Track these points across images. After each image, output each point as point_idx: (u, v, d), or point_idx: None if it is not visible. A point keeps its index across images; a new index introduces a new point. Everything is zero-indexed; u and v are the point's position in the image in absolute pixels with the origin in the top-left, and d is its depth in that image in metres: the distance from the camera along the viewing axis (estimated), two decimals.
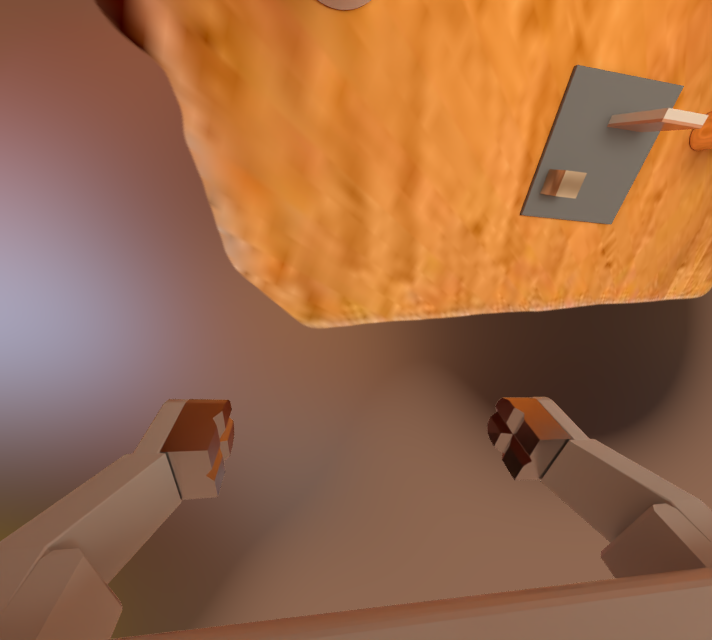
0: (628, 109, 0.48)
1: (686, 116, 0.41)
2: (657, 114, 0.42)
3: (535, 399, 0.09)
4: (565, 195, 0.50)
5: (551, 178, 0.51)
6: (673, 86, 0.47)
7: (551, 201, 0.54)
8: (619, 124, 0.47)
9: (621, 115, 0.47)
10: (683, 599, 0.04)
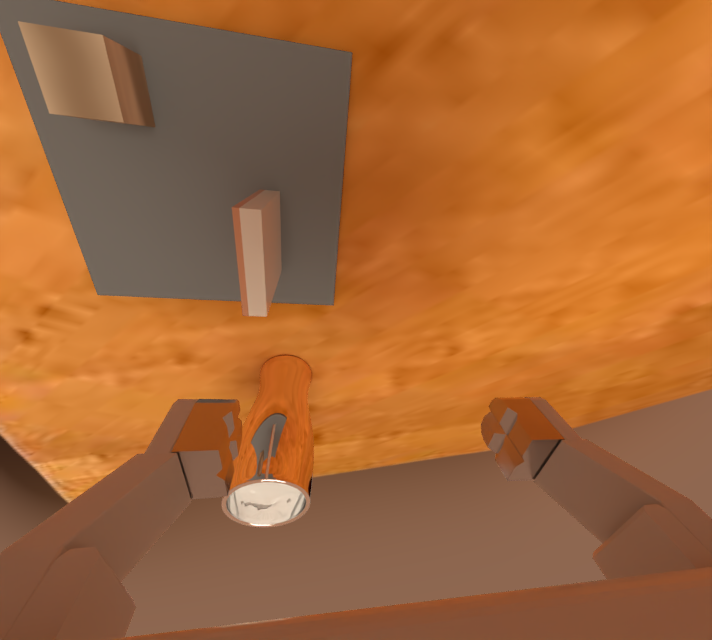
0: (293, 223, 0.26)
1: (255, 268, 0.18)
2: (252, 205, 0.17)
3: (528, 399, 0.09)
4: (38, 66, 0.16)
5: None
6: (331, 289, 0.29)
7: None
8: (256, 192, 0.22)
9: (274, 193, 0.23)
10: (682, 599, 0.04)
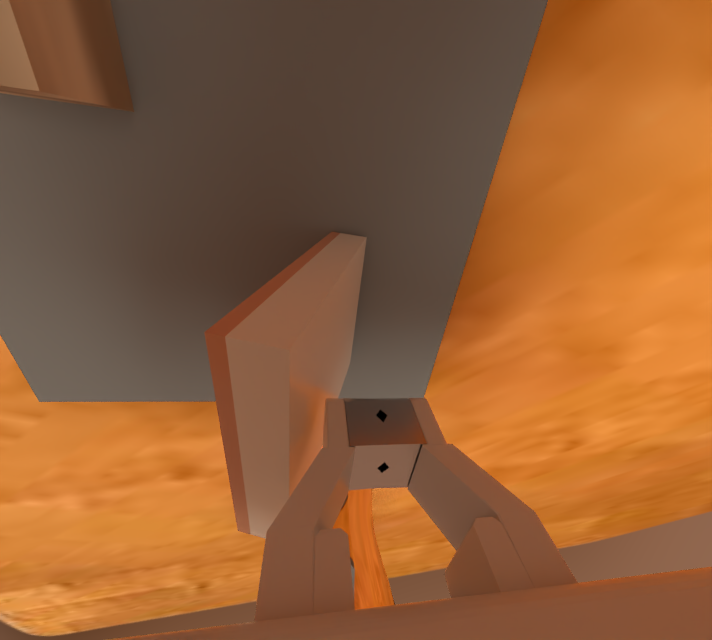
0: (381, 286, 0.15)
1: (266, 467, 0.07)
2: (278, 313, 0.06)
3: (408, 401, 0.08)
4: None
5: None
6: (424, 380, 0.18)
7: None
8: (320, 244, 0.11)
9: (354, 246, 0.11)
10: (682, 599, 0.04)
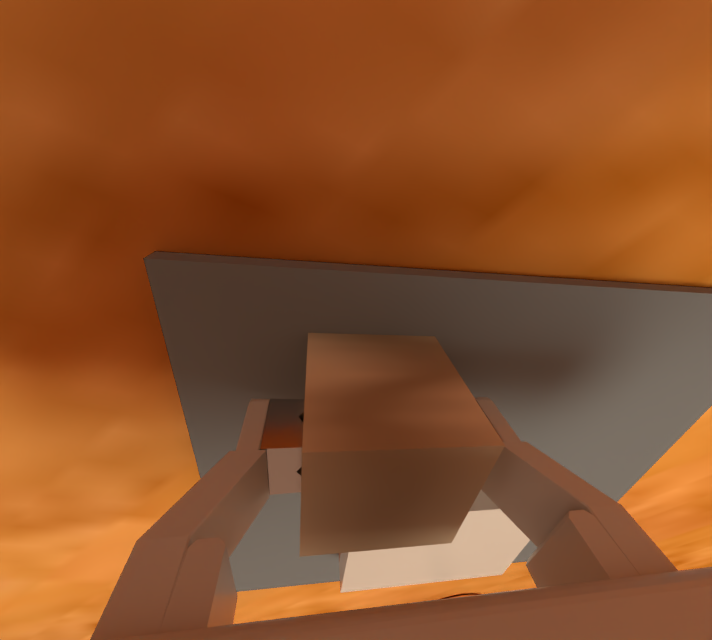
0: None
1: None
2: None
3: None
4: (314, 507, 0.06)
5: (403, 363, 0.08)
6: None
7: None
8: None
9: None
10: (682, 599, 0.04)
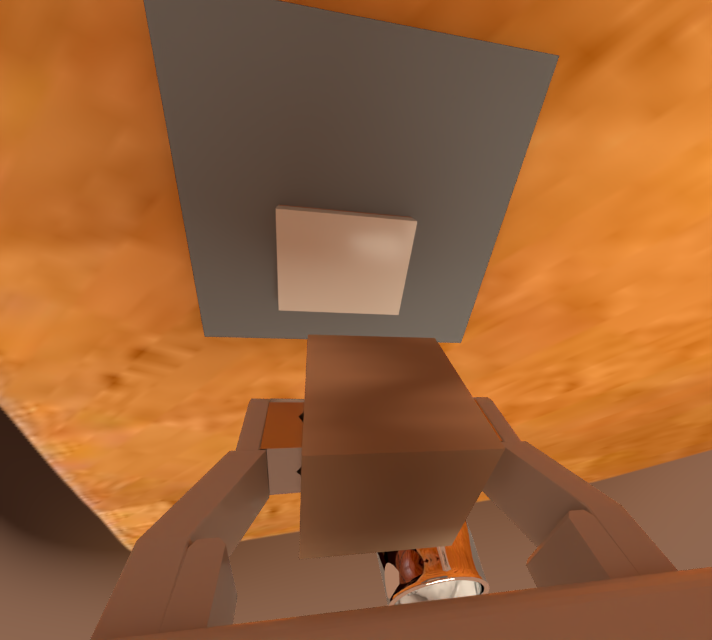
0: (440, 254, 0.22)
1: None
2: (295, 208, 0.18)
3: None
4: (314, 510, 0.06)
5: (403, 365, 0.08)
6: (463, 325, 0.25)
7: (219, 112, 0.16)
8: (379, 214, 0.20)
9: (389, 218, 0.19)
10: (682, 599, 0.04)
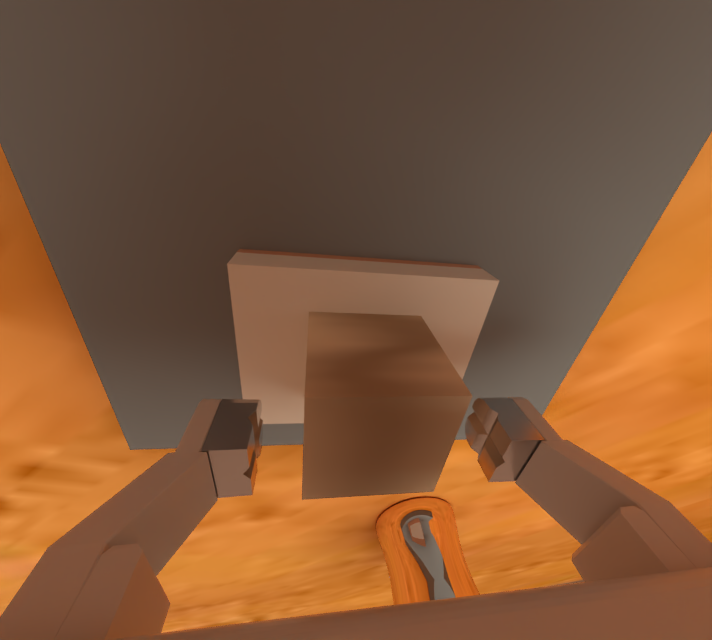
0: (518, 322, 0.13)
1: None
2: (268, 259, 0.09)
3: (511, 400, 0.09)
4: (314, 450, 0.07)
5: (391, 335, 0.09)
6: None
7: (93, 61, 0.07)
8: (425, 263, 0.11)
9: (447, 275, 0.10)
10: (682, 599, 0.04)
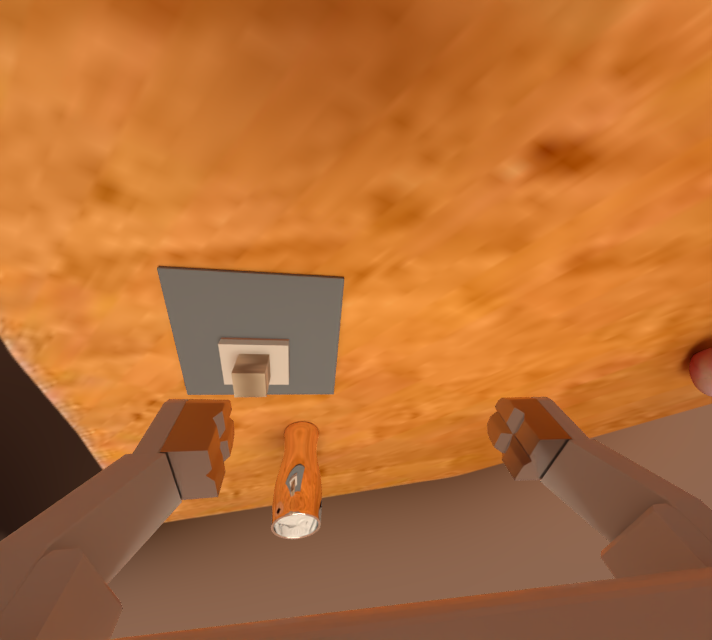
0: (309, 353, 0.42)
1: None
2: (228, 341, 0.39)
3: (535, 400, 0.09)
4: (235, 384, 0.36)
5: (256, 360, 0.38)
6: (332, 385, 0.46)
7: (190, 306, 0.36)
8: (272, 339, 0.40)
9: (274, 344, 0.39)
10: (682, 599, 0.04)
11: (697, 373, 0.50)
